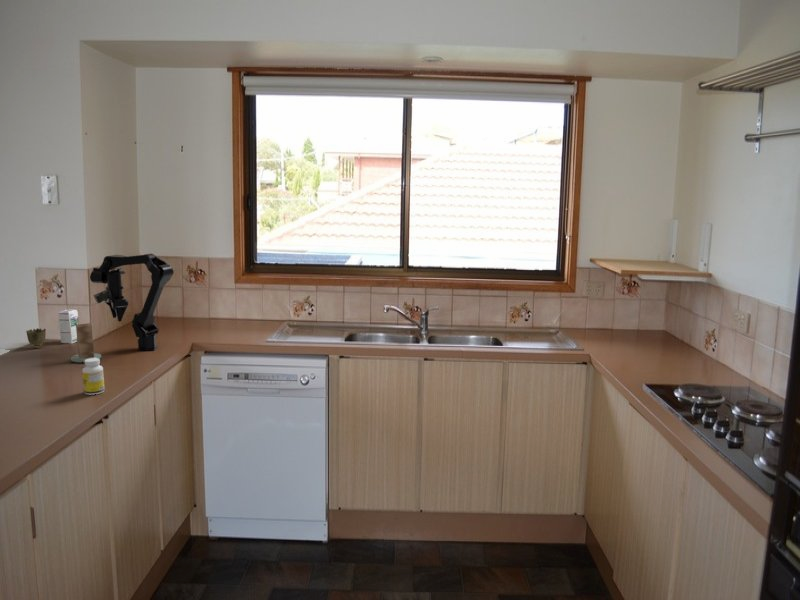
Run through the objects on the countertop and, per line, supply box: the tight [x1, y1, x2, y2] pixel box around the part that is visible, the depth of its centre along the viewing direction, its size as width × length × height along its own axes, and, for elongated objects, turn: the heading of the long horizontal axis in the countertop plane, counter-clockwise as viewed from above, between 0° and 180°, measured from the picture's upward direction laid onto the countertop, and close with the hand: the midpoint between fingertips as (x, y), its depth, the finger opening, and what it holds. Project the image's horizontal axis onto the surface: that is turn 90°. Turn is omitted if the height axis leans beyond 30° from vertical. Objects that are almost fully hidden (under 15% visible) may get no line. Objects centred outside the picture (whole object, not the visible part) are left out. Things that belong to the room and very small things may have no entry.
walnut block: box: [76, 322, 95, 359], centre depth 268 cm, size 5×5×13 cm
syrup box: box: [57, 308, 80, 345], centre depth 298 cm, size 6×6×14 cm
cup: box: [25, 327, 47, 349], centre depth 288 cm, size 8×7×8 cm
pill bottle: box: [82, 358, 106, 396], centre depth 227 cm, size 6×6×12 cm
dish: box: [70, 352, 102, 364], centre depth 269 cm, size 11×11×1 cm
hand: (117, 319), depth 290 cm, fingers open, 9 cm apart
